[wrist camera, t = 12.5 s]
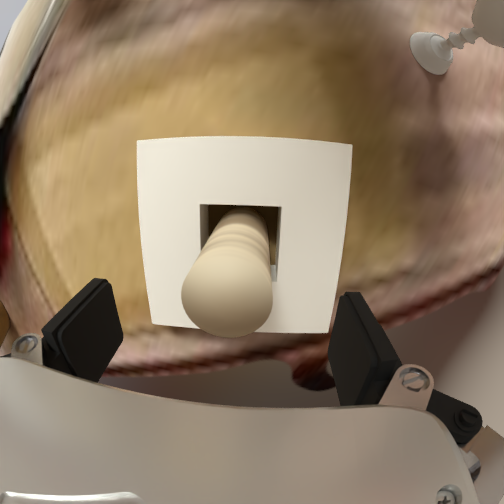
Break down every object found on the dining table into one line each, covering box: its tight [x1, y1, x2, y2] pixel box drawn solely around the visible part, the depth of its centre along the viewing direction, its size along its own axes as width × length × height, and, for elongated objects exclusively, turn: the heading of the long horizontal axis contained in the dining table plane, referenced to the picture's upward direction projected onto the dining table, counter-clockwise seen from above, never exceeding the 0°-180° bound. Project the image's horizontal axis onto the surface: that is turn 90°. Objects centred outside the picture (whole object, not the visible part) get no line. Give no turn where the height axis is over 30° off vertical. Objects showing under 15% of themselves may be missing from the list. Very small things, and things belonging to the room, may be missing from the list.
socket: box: [137, 136, 353, 333], centre depth 23 cm, size 16×16×4 cm
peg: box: [181, 207, 273, 338], centre depth 19 cm, size 4×4×12 cm
